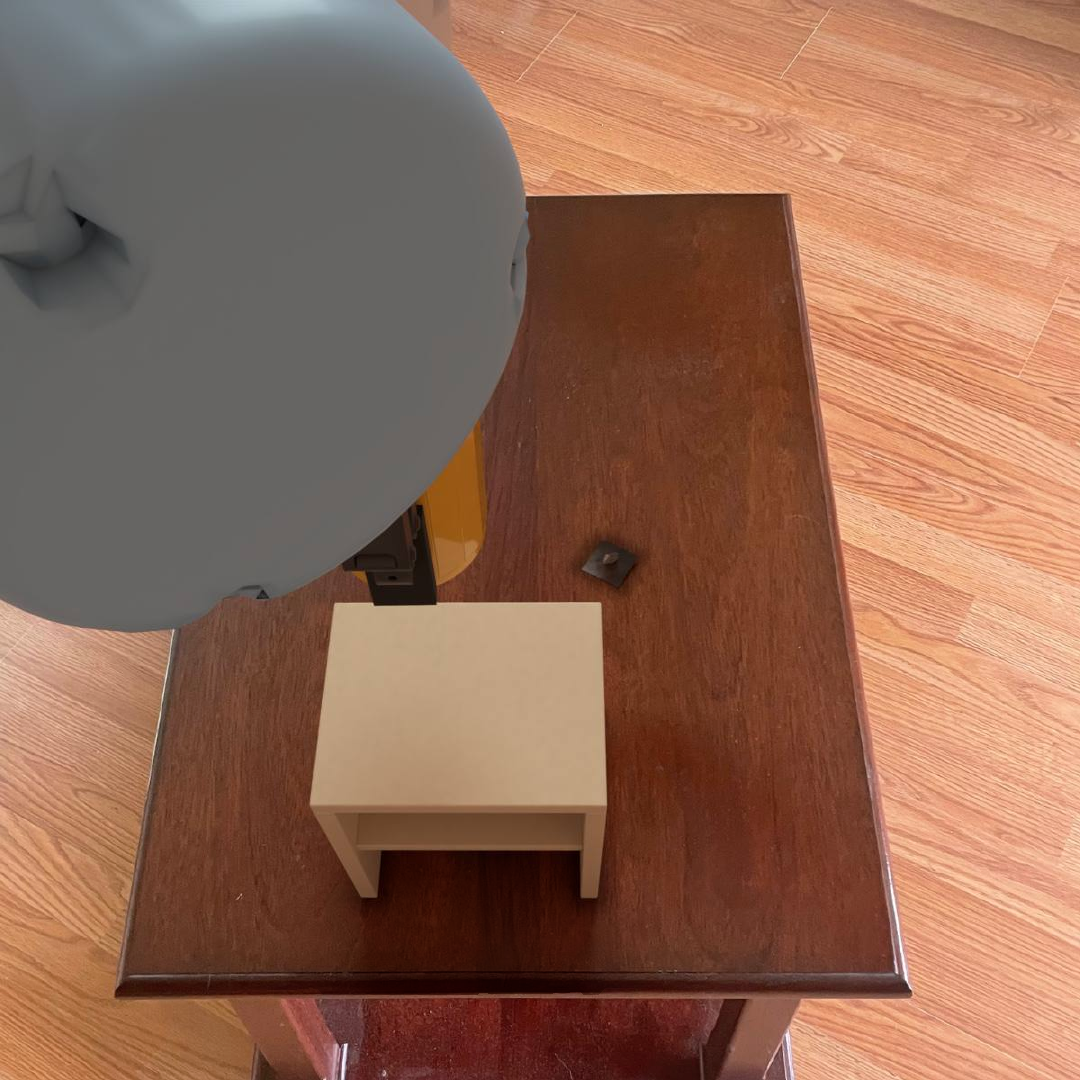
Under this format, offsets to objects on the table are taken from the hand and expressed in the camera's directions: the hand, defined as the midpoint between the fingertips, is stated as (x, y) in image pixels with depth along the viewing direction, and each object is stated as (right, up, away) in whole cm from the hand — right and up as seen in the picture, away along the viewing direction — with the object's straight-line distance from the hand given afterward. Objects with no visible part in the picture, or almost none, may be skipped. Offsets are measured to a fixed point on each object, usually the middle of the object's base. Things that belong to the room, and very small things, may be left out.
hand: (410, 522), depth 50 cm
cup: (0, 0, 0) cm, 0 cm away
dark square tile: (+11, -3, +28) cm, 30 cm away
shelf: (+2, -17, +18) cm, 25 cm away
